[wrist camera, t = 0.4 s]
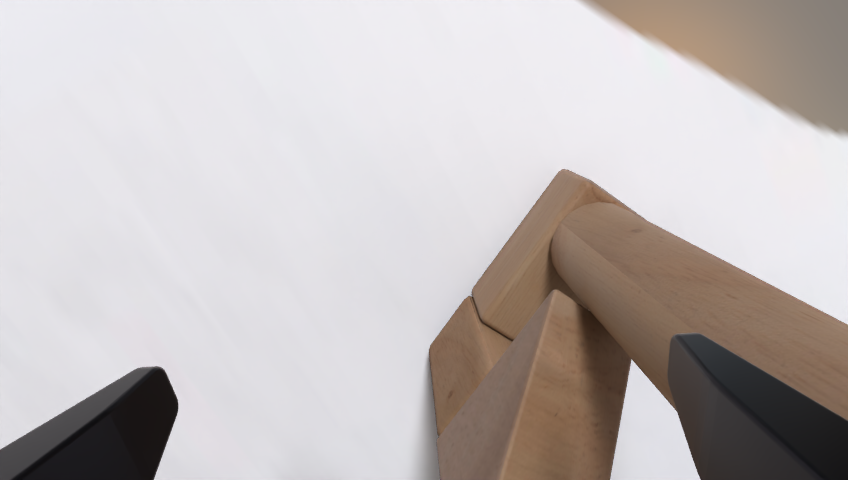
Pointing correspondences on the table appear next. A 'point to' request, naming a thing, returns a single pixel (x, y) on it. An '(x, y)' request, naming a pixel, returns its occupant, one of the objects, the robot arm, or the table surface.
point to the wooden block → (601, 337)
